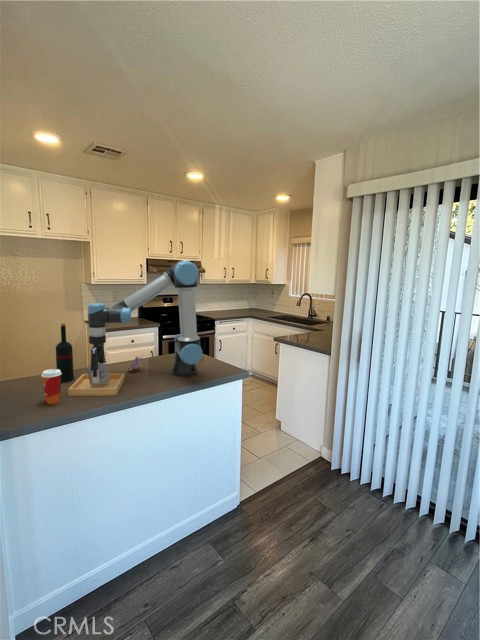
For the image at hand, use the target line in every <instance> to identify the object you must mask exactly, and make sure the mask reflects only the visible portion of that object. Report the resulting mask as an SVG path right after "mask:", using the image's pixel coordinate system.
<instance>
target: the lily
mask: <svg viewBox="0 0 480 640" xmlns="http://www.w3.org/2000/svg"><path fill="white" fill-rule="evenodd" d="M143 356H144V355H141V356H140V357H139V356H138V355H137V356H136V357H135V358H134V360H133V362H132V363H131V364H130V365H129V367H128V368H127V370H126V372H128V371H129V370H130V369H135V368H136V367H139V369H140V370H141V371H142V372H143V370H142V367H140V361H141V360H142V357H143Z"/></svg>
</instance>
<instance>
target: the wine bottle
mask: <svg viewBox="0 0 480 640" xmlns="http://www.w3.org/2000/svg"><path fill="white" fill-rule="evenodd" d="M66 329H67V327H66V323H60V338H61V339H60V340H61V341H60V342H59V343H57V344H56V346H55V364H56V370H57V369H59V370H60V371H61V373H62V374H61V384H63V383H64V384H65V382H66V383H70V382H73V381H75V380H74V379H75V378H74V377H75V376H74V375H75V374H74V373H75V372H74V357H73V356H74V355H73V345H72V344H71V342H68V341H67V332H66ZM72 380H73V381H72Z"/></svg>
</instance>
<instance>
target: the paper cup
mask: <svg viewBox="0 0 480 640" xmlns="http://www.w3.org/2000/svg"><path fill="white" fill-rule="evenodd" d="M61 374H62V373H61V371H60V370H59V369H57V368H55V369H53V368H51V369H46V370H44V371H42V373H41V375H40V376H41V377H42V385H43V390H44V391H43V394H44V400H45V404H47V405H54V404H58V403H60V402H61V392H62V391H61V387H62V386H61V385H62V383H61Z"/></svg>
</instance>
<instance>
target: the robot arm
mask: <svg viewBox="0 0 480 640" xmlns="http://www.w3.org/2000/svg"><path fill="white" fill-rule="evenodd" d="M199 273H200V272H199V269H198V266H197V265H196V264H195V263H193V262H191V261H189V260H180V261H177V262H175V263H174V264H172V265H171V267H169V268H168V269H167V270H165V271H163V274H162V275H161V276H159V277H156V279H154V280H153V281H151V282H149V283H148V284H146V285H144V286H143V287H142V288H140V289H138V290H137V291H136V292H133V293H132V294H131V295H128V296H127V297H126V298H125V299H123V300H121V301H120V302H118V303H115V304H114V305H113V306H112V307H106V305H105V303H103V302H102V303H101V302H100V303H99V302H92V303H90V304H88V306H87V317H88V318H87V319H88V320H87V322H88V328H87V331H88V335H89V336H88V343H89V344H90V345H92V349H90V367H91V369H90V370H92V381H93V383H99V370H98V366H99V365H103V364H107V363H106V361H107V360H106V356H105V353H106V352H105V343H106V342H107V336H106V334H107V328H106V324H125V323H126V324H127V323H128V324H129V323H131V322H132V312H134V311H135V310H137V309H138V308H140V307H141V306H143V305H144V304H146V303H147V302H150V301H151V300H153V299H155V298H156V296H158V295H160V294H162V293H163V292H165V291H166V290H168V289H169V288H171V287H174V289H176V291H177V295H178V312H179V313H178V314H179V328H180V329H179V330H180V331H179V332H180V333H179V334H176V335H175V337H174V360H173V363H172V366H171V372H170V373H171V374H172V375H174V376H176V377H179V378H180V377H181V378H185V377H188V378H189V377H193V376H196V375H197V374H198V367H197V363H198V362H200V360H201V359H202V357H203V348H202V347H201V337H200V336H199V335H198V334H197V333H198V332H197V331H198V329H197V327H198V326H197V312H196V311H197V310H196V292H195V291H196V289H197V288H198V279H199Z"/></svg>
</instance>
